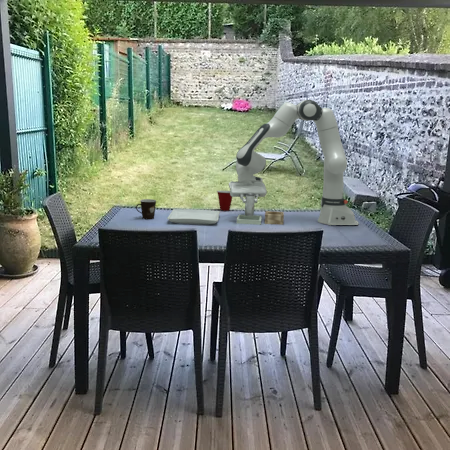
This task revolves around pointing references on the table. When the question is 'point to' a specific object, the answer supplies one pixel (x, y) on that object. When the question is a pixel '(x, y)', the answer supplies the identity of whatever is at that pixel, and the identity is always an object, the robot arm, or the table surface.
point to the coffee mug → (147, 208)
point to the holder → (274, 217)
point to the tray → (242, 220)
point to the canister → (249, 204)
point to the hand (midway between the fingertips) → (250, 202)
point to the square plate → (193, 216)
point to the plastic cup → (224, 200)
